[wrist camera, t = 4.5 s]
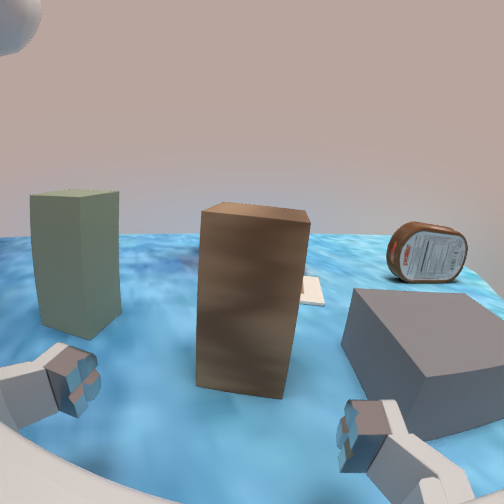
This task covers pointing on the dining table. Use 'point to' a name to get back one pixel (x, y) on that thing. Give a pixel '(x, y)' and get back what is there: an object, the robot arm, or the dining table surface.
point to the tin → (426, 253)
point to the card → (311, 292)
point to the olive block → (76, 259)
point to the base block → (428, 358)
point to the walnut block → (248, 296)
